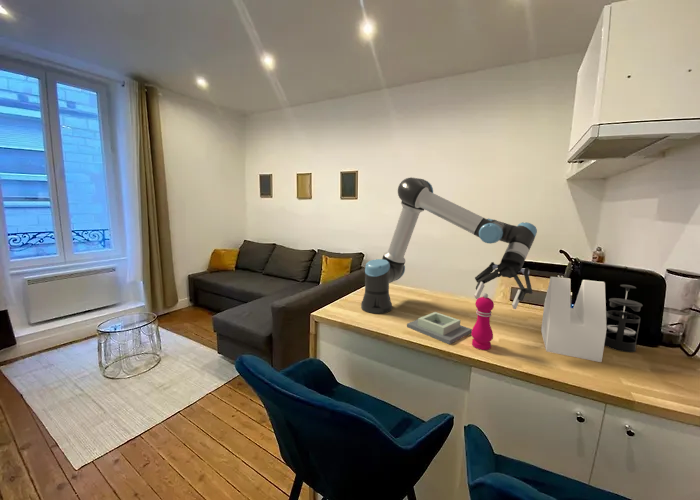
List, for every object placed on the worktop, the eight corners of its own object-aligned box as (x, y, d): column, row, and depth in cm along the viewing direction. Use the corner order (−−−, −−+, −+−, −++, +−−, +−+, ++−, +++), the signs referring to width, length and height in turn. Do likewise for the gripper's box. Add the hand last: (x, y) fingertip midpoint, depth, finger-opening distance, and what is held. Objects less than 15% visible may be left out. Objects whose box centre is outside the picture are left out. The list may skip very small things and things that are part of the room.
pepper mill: (466, 341, 113) (470, 290, 109) (485, 341, 113) (489, 290, 110) (476, 351, 105) (480, 296, 102) (496, 350, 106) (501, 296, 103)
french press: (635, 355, 103) (646, 291, 99) (600, 346, 110) (609, 285, 106) (636, 344, 111) (646, 284, 108) (603, 336, 118) (612, 279, 114)
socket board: (406, 326, 125) (407, 316, 125) (429, 317, 136) (430, 308, 135) (449, 344, 110) (450, 332, 110) (471, 332, 120) (472, 322, 120)
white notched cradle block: (601, 362, 99) (612, 289, 95) (546, 351, 106) (554, 283, 102) (588, 339, 116) (597, 276, 112) (541, 331, 123) (547, 271, 119)
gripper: (553, 267, 109) (533, 317, 102) (485, 258, 128) (465, 299, 121) (549, 255, 105) (529, 305, 98) (480, 247, 124) (459, 288, 117)
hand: (494, 302), depth 109 cm, fingers open, 13 cm apart
